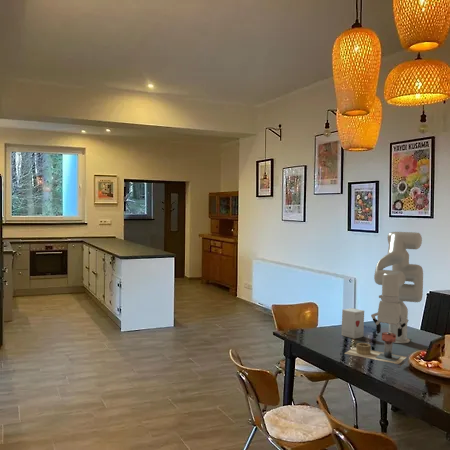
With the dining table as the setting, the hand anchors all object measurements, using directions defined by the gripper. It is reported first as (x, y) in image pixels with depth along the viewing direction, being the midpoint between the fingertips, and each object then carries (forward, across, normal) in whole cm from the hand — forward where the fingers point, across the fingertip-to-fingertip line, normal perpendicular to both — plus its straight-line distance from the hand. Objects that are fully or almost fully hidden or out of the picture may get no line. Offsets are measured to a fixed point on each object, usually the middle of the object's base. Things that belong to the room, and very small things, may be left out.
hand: (388, 334), depth 235 cm
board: (+12, -6, -1) cm, 14 cm away
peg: (+11, 0, -1) cm, 11 cm away
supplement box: (+13, -30, +32) cm, 46 cm away
